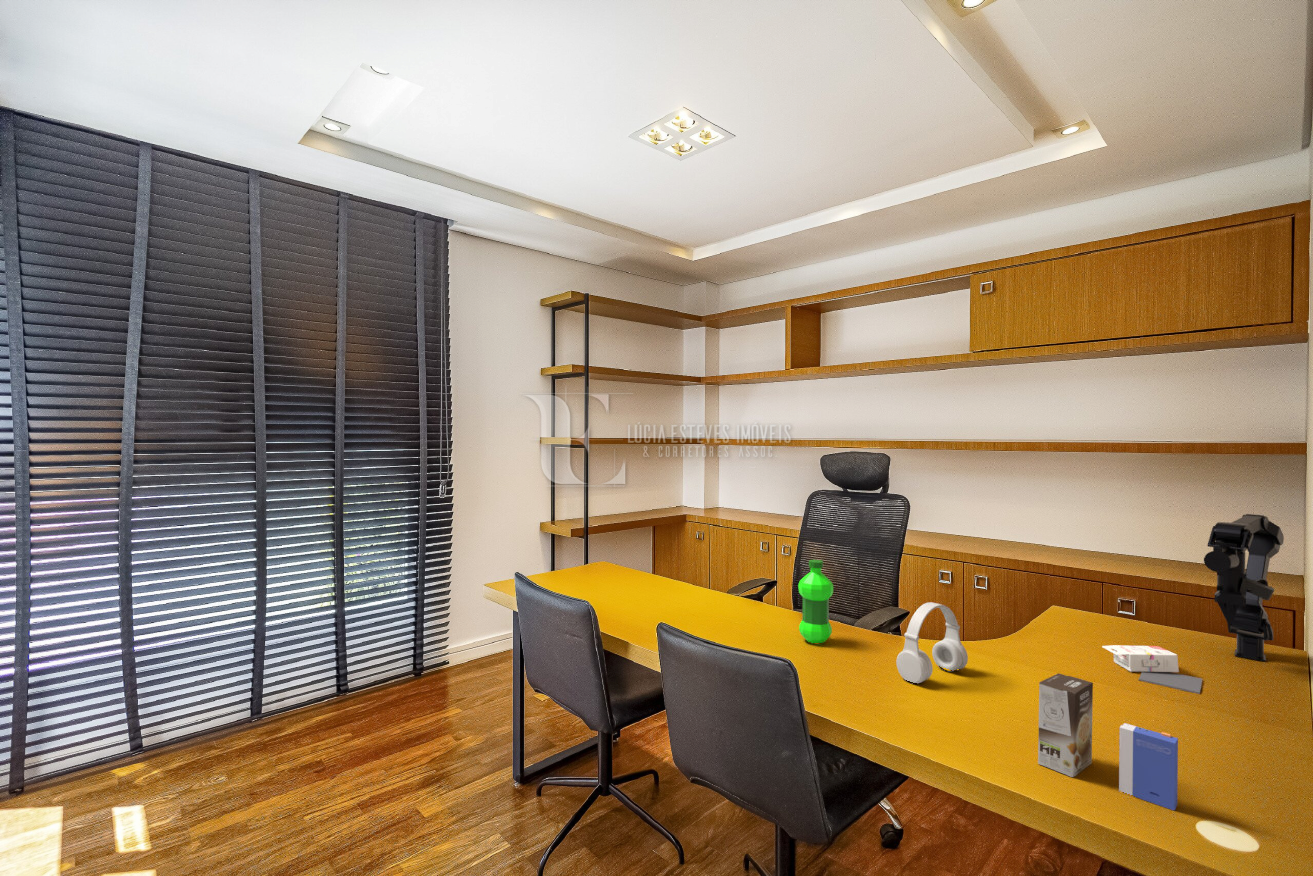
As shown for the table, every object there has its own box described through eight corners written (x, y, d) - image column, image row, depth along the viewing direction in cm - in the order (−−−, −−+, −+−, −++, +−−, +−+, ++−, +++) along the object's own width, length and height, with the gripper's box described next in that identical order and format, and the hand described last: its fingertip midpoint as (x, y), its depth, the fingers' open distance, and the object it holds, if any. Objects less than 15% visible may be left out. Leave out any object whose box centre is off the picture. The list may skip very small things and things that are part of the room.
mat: (1144, 668, 170) (1144, 666, 170) (1202, 680, 161) (1202, 678, 161) (1138, 680, 161) (1138, 678, 161) (1199, 694, 153) (1199, 692, 153)
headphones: (922, 689, 155) (923, 613, 154) (894, 678, 162) (895, 605, 162) (969, 673, 165) (970, 602, 165) (940, 663, 172) (941, 595, 172)
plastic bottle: (821, 649, 183) (821, 566, 183) (791, 640, 190) (792, 560, 190) (839, 642, 189) (839, 561, 189) (809, 633, 197) (810, 556, 197)
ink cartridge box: (1160, 663, 172) (1101, 662, 175) (1158, 645, 172) (1100, 644, 175) (1179, 673, 164) (1117, 671, 166) (1178, 654, 164) (1116, 653, 167)
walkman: (1177, 804, 107) (1178, 736, 106) (1174, 811, 105) (1175, 741, 105) (1121, 785, 112) (1122, 720, 112) (1118, 791, 111) (1118, 725, 110)
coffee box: (1074, 779, 114) (1075, 693, 114) (1037, 764, 119) (1037, 682, 119) (1092, 763, 120) (1093, 682, 120) (1056, 750, 125) (1057, 671, 125)
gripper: (1272, 578, 158) (1272, 638, 159) (1271, 567, 172) (1270, 623, 172) (1214, 571, 166) (1214, 628, 166) (1217, 561, 180) (1216, 614, 180)
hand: (1230, 624), depth 171 cm, fingers closed
